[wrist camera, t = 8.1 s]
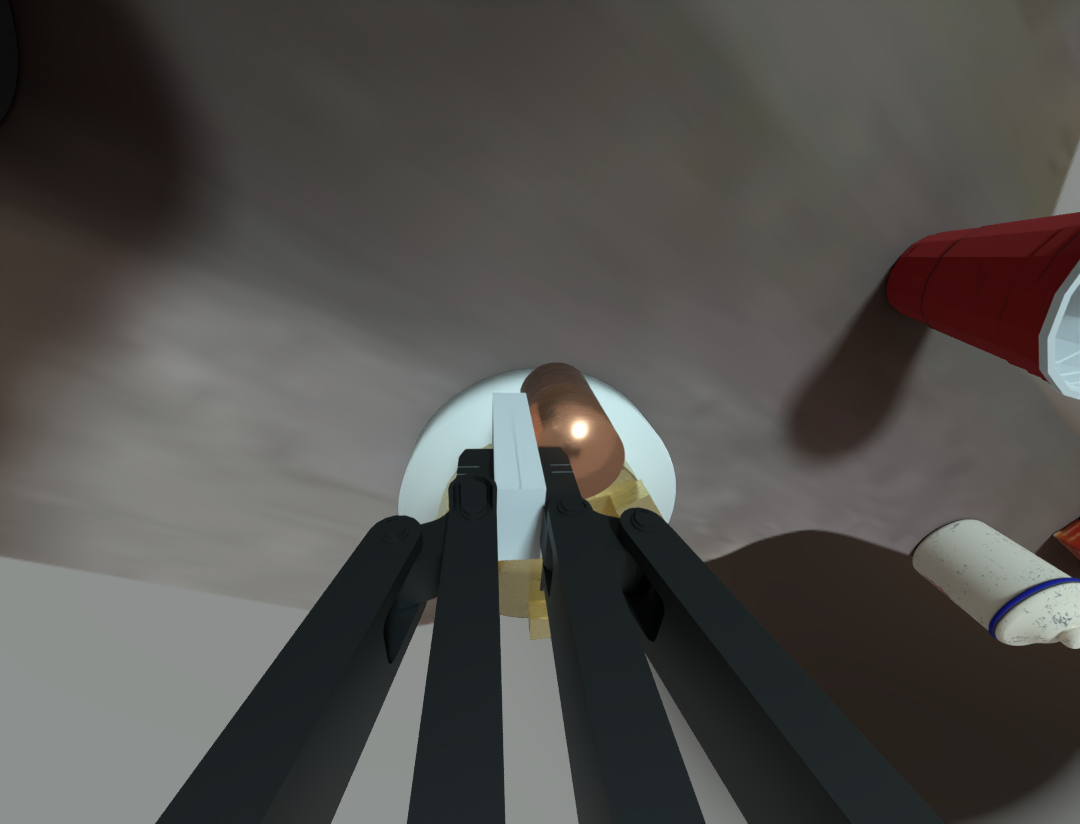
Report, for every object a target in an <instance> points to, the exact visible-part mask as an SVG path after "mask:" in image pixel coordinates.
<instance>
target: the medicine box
mask: <svg viewBox="0 0 1080 824" xmlns="http://www.w3.org/2000/svg"><path fill="white" fill-rule="evenodd" d="M1053 536H1054V537H1055V538H1056V539H1057V540H1058V541H1059V542H1061V543H1062V544H1063V545H1064V546H1065V547H1066V548H1067V549H1068V550H1069V551H1070V552H1071V553H1073V554H1074V555H1075V556H1076V557H1077V558H1078V559H1079V560H1080V519H1076V520H1074V521H1073V522H1071V523H1070V524H1068V525H1067V526H1066V527H1064V528H1063V529H1061V530H1060V531H1058V532H1056V533H1055V534H1054V535H1053Z"/></svg>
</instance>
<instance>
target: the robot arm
mask: <svg viewBox="0 0 1080 824" xmlns="http://www.w3.org/2000/svg"><path fill="white" fill-rule="evenodd" d="M17 73H18V51H17V41H16V33H15V28H14V23H13V18H12V14H11V10H10V6H9V3H8V0H0V122H1V121H2V119H3V118H4V116H5V115H6V113H7V111H8V109H9V107H10V104H11V101H12V98H13V96H14V91H15V87H16V81H17ZM448 498H449V511H448V512H447V513H446V514H445V515H444V516H442V517H440V518H439V519H437V520H434V521H431V522H427V523H424V524H420V523H419V522H418V521H417V520H416V519H415V518H412V517H409V516H406V515H396V516H392V517H388V518H385V519H383V520H381V521H379V522H377V523H376V524H375V525H374V526H373V527H372V528H371V529H370V530H369V532H368V533H367V534H366V536H365V537H364V538H363V540H362V541H361V542H360V544H359V545H358V547H357V548H356V549H355V551H354V552H353V553H352V555H351V556H350V558H349V559H348V560H347V562H346V563H345V564H344V566H343V567H342V568H341V570H340V571H339V573H338V574H337V575H336V577H335V578H334V579H333V581H332V582H331V584H330V585H329V586H328V588H327V589H326V590H325V592H324V593H323V595H322V596H321V597H320V599H319V600H318V601H317V603H316V604H315V605H314V607H313V608H312V610H311V611H310V612H309V614H308V615H307V616H306V618H305V619H304V621H303V622H302V623H301V625H300V626H299V627H298V629H297V630H296V632H295V633H294V634H293V636H292V637H291V638H290V640H289V641H288V643H287V644H286V645H285V647H284V648H283V649H282V651H281V652H280V653H279V655H278V656H277V658H276V659H275V660H274V662H273V663H272V665H271V666H270V667H269V669H268V670H267V671H266V673H265V674H264V675H263V677H262V678H261V679H260V681H259V682H258V684H257V685H256V686H255V688H254V689H253V691H252V692H251V693H250V695H249V696H248V698H247V699H246V700H245V701H244V703H243V704H242V706H241V707H240V708H239V710H238V711H237V712H236V714H235V715H234V716H233V718H232V719H231V721H230V722H229V723H228V725H227V726H226V728H225V729H224V730H223V732H222V733H221V734H220V736H219V737H218V739H217V740H216V741H215V742H214V744H213V745H212V747H211V748H210V749H209V751H208V752H207V753H206V755H205V756H204V758H203V759H202V760H201V762H200V763H199V764H198V766H197V767H196V769H195V770H194V771H193V773H192V774H191V775H190V777H189V778H188V780H187V781H186V783H185V784H184V785H183V786H182V788H181V789H180V790H179V792H178V793H177V795H176V796H175V797H174V799H173V800H172V802H171V803H170V804H169V805H168V807H167V808H166V810H165V811H164V812H163V814H162V815H161V817H160V818H159V819H158V821H157V822H156V823H155V824H331V822H332V820H333V817H334V815H335V813H336V810H337V808H338V806H339V803H340V801H341V799H342V797H343V794H344V792H345V790H346V788H347V785H348V783H349V781H350V778H351V776H352V774H353V771H354V769H355V767H356V765H357V762H358V760H359V758H360V755H361V753H362V751H363V748H364V746H365V744H366V742H367V739H368V737H369V735H370V732H371V730H372V728H373V726H374V723H375V721H376V719H377V716H378V714H379V712H380V710H381V707H382V705H383V703H384V700H385V698H386V696H387V693H388V691H389V689H390V687H391V684H392V682H393V680H394V677H395V675H396V673H397V670H398V668H399V666H400V663H401V661H402V659H403V656H404V654H405V652H406V650H407V647H408V645H409V643H410V640H411V638H412V636H413V634H414V632H415V629H416V627H417V625H418V622H419V620H420V618H421V615H422V613H423V611H424V609H425V606H426V603H427V600H430V599H433V598H436V597H438V598H437V605H436V613H435V620H434V627H433V635H432V642H431V649H430V657H429V664H428V672H427V679H426V687H425V694H424V702H423V709H422V716H421V723H420V731H419V738H418V745H417V753H416V760H415V767H414V775H413V782H412V790H411V797H410V805H409V812H408V819H407V824H505V799H504V797H505V796H504V759H503V723H502V686H501V649H500V611H499V574H498V561H500V560H523V559H540V550H541V554H542V560H543V563H542V573H541V583H540V591H543V590H544V593H545V600H546V607H547V613H548V620H549V627H550V634H551V640H552V647H553V653H554V660H555V666H556V673H557V681H558V687H559V694H560V700H561V707H562V714H563V721H564V728H565V734H566V741H567V747H568V754H569V761H570V768H571V774H572V781H573V787H574V795H575V801H576V808H577V815H578V822H579V824H706V823H705V821H704V818H703V815H702V812H701V809H700V806H699V804H698V801H697V798H696V795H695V792H694V790H693V787H692V784H691V781H690V778H689V776H688V773H687V770H686V767H685V764H684V762H683V759H682V756H681V753H680V751H679V748H678V745H677V742H676V739H675V737H674V734H673V731H672V728H671V725H670V723H669V720H668V717H667V714H666V711H665V709H664V706H663V703H662V700H661V698H660V695H659V692H658V689H657V687H656V684H655V681H654V678H653V675H652V672H651V670H650V667H649V664H648V661H647V659H646V656H645V653H646V655H647V657H648V658H649V660H650V662H651V663H652V665H653V667H654V668H655V670H656V671H657V673H658V675H659V677H660V678H661V680H662V682H663V683H664V685H665V687H666V688H667V690H668V691H669V693H670V695H671V697H672V698H673V700H674V702H675V703H676V705H677V707H678V708H679V710H680V711H681V713H682V715H683V717H684V718H685V720H686V721H687V723H688V725H689V726H690V728H691V730H692V731H693V733H694V735H695V736H696V738H697V740H698V741H699V743H700V744H701V746H702V748H703V749H704V751H705V753H706V754H707V756H708V758H709V760H710V761H711V763H712V765H713V766H714V768H715V769H716V771H717V773H718V775H719V776H720V778H721V779H722V781H723V783H724V784H725V786H726V788H727V789H728V791H729V793H730V794H731V796H732V798H733V799H734V801H735V803H736V804H737V806H738V808H739V809H740V811H741V812H742V814H743V816H744V817H745V819H746V821H747V823H748V824H944V823H943V821H942V820H941V819H940V818H939V817H938V816H937V815H936V814H935V813H934V812H933V810H932V809H931V808H930V807H929V806H928V805H927V804H926V803H925V802H924V801H923V800H922V799H921V797H920V796H919V795H918V794H917V793H916V792H915V791H914V790H913V789H912V788H911V787H910V786H909V785H908V784H907V782H906V781H905V780H904V779H903V778H902V777H901V776H900V775H899V774H898V773H897V772H896V770H895V769H894V768H893V767H892V766H891V765H890V764H889V763H888V762H887V761H886V760H885V759H884V757H882V755H881V754H880V753H879V752H878V751H877V750H876V749H875V748H874V747H873V746H872V744H871V743H870V742H869V741H868V740H867V739H866V738H865V737H864V736H863V735H862V734H861V733H860V731H859V730H858V729H857V728H856V727H855V726H854V725H853V724H852V723H851V722H850V721H849V720H848V719H847V717H846V716H845V715H844V714H843V713H842V712H841V711H840V710H839V709H838V708H837V707H836V705H835V704H834V703H833V702H832V701H831V700H830V699H829V698H828V697H827V696H826V695H825V694H824V692H823V691H822V690H820V688H819V687H818V686H817V685H816V684H815V683H814V682H813V681H812V679H811V678H810V677H809V676H808V675H807V674H806V673H805V672H804V671H803V670H802V669H801V668H800V666H799V665H798V664H797V663H796V662H795V661H794V660H793V659H792V658H791V657H790V656H789V655H788V653H787V652H786V651H785V650H784V649H783V648H782V647H781V646H780V645H779V644H778V643H777V642H776V640H775V639H774V638H773V637H772V636H771V635H770V634H769V633H768V632H767V631H766V630H765V629H764V627H763V626H762V625H761V624H760V623H759V622H758V621H757V620H756V619H755V618H754V617H753V616H752V614H751V613H750V612H749V611H748V610H747V609H746V608H745V607H744V606H743V605H742V604H741V603H740V601H739V600H738V599H737V598H736V597H735V596H734V595H733V594H732V593H731V592H730V591H729V590H728V588H727V587H726V586H725V585H724V584H723V583H722V582H721V581H720V580H719V579H718V578H717V577H716V575H715V574H714V573H713V572H712V571H711V570H710V569H709V568H708V567H707V566H706V565H705V564H704V562H703V561H702V560H701V559H700V558H699V557H698V556H697V555H696V554H695V553H694V552H693V551H692V549H691V548H690V547H689V546H688V545H687V544H686V543H685V542H684V541H683V540H682V539H681V538H680V536H679V535H678V534H677V533H676V532H675V531H674V530H673V529H672V528H671V527H670V526H669V525H668V523H667V522H666V521H665V520H664V519H663V518H662V517H660V516H659V515H658V514H657V513H655V512H653V511H651V510H648V509H644V508H639V507H637V508H629V509H627V510H625V511H624V512H623V513H622V514H621V516H620V518H617V517H612V516H608V515H604V514H600V513H598V512H596V511H594V510H593V508H592V506H591V505H590V503H589V502H588V501H587V500H585V499H584V498H582V497H581V494H580V491H579V488H578V485H577V482H576V479H575V476H574V473H573V470H572V467H571V465H570V461H569V458H568V455H567V454H566V453H565V452H564V451H563V450H562V449H561V448H560V447H537V442H536V438H535V433H534V428H533V424H532V419H531V414H530V410H529V405H528V401H527V396H526V393H493V405H492V449H465V450H464V451H463V452H462V454H461V455H460V456H459V459H458V468H457V475H456V478H455V479H454V480H453V481H452V482H451V483H450V485H449V487H448ZM644 652H645V653H644Z"/></svg>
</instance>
